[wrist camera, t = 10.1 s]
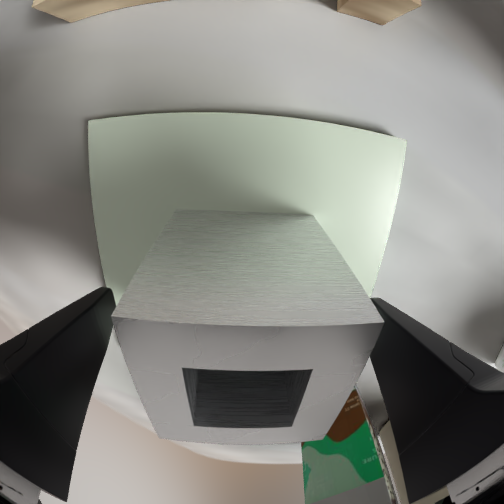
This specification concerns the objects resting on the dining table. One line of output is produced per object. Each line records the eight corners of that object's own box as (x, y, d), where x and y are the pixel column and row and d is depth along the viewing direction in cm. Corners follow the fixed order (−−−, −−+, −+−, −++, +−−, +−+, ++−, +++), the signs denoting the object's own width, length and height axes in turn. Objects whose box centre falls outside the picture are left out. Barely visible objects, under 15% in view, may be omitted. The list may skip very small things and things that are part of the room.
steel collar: (313, 215, 10) (384, 322, 5) (295, 321, 12) (322, 439, 7) (176, 209, 10) (111, 316, 4) (184, 318, 12) (159, 438, 7)
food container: (251, 392, 16) (260, 541, 7) (343, 357, 15) (393, 512, 6) (312, 446, 21) (327, 534, 12) (373, 424, 20) (400, 512, 11)
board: (397, 138, 9) (407, 140, 9) (339, 356, 15) (343, 366, 14) (97, 119, 9) (88, 120, 8) (131, 349, 14) (127, 359, 13)
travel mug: (418, 390, 18) (479, 555, 2) (458, 390, 20) (513, 517, 4) (363, 437, 21) (398, 580, 5) (409, 432, 23) (447, 549, 7)
